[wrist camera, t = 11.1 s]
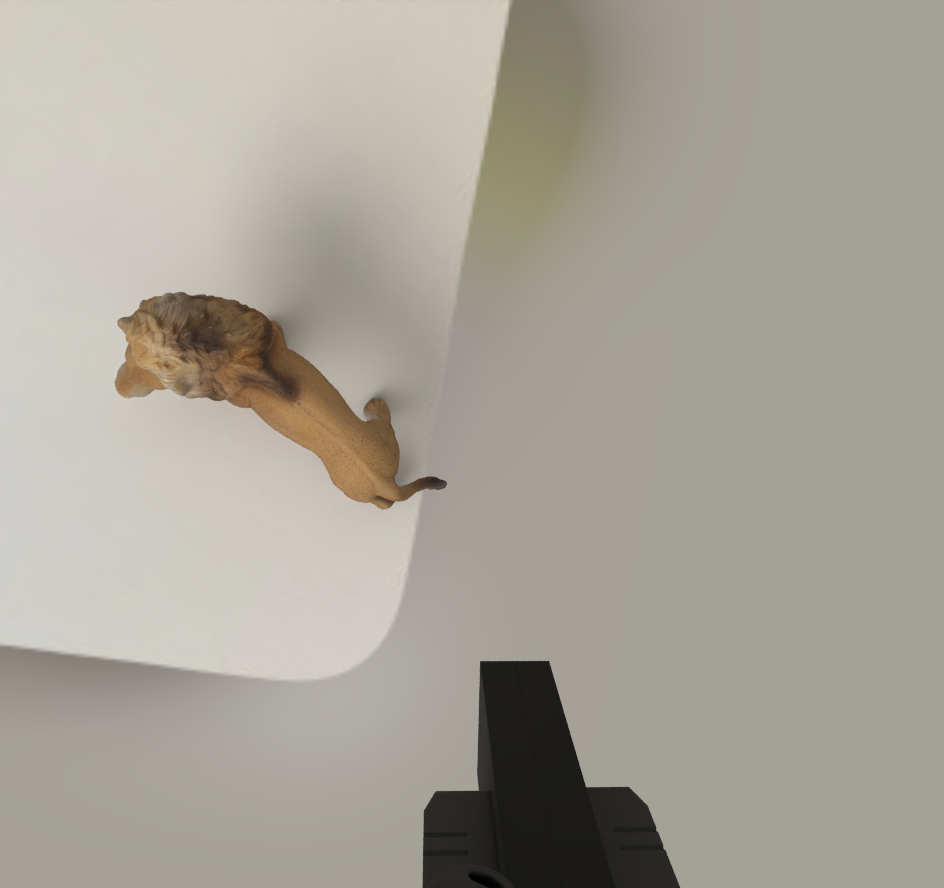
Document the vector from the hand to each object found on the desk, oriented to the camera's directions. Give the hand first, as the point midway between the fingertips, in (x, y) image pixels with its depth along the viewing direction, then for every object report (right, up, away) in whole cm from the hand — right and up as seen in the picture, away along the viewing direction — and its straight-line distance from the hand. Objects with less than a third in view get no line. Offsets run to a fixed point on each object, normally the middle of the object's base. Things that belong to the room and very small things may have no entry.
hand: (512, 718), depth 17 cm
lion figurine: (-9, +8, +20) cm, 23 cm away
